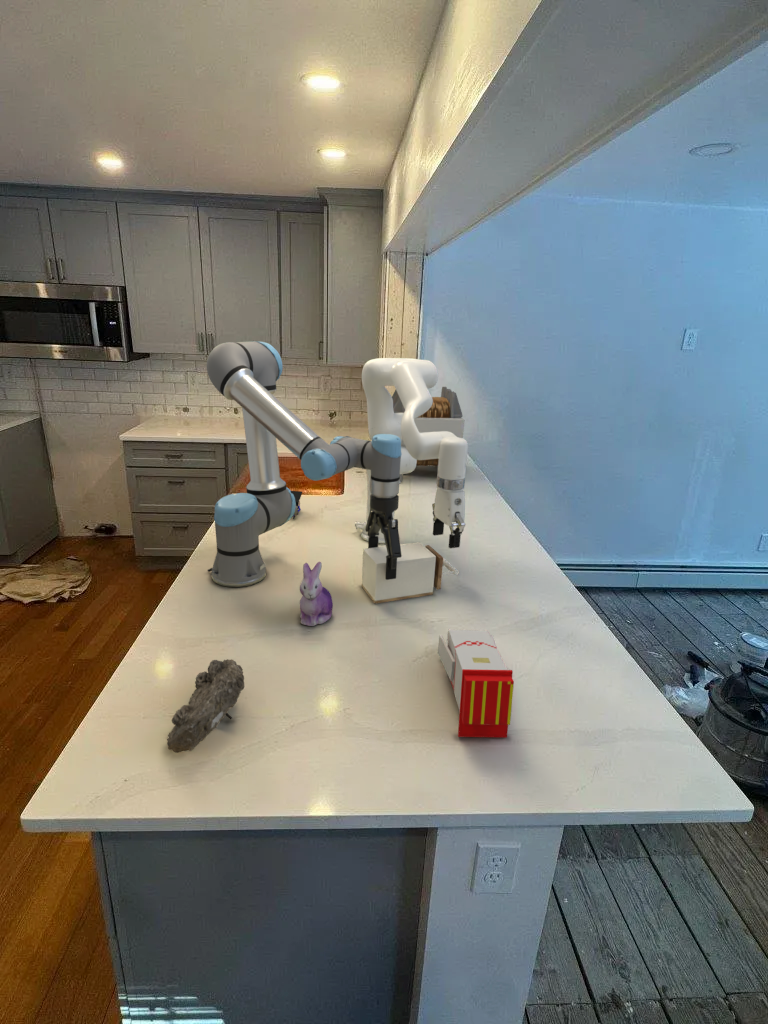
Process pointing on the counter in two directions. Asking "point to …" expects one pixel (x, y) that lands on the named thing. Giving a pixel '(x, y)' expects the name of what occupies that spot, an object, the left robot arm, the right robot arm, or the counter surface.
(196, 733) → the fossil
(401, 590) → the cabinet
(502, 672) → the toy
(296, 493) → the figurine character
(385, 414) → the right robot arm
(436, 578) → the drawer
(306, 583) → the figurine
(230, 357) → the left robot arm
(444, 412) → the transformer
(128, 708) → the counter surface
